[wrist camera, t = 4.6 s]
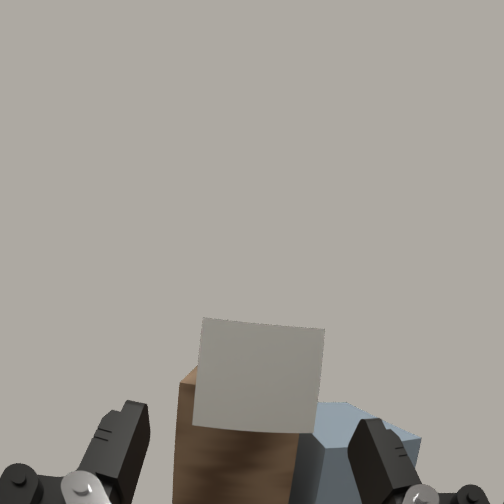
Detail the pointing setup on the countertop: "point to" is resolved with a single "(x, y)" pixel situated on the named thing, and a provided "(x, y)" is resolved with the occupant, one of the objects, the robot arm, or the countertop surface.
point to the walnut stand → (228, 460)
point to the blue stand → (334, 456)
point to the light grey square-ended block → (258, 377)
